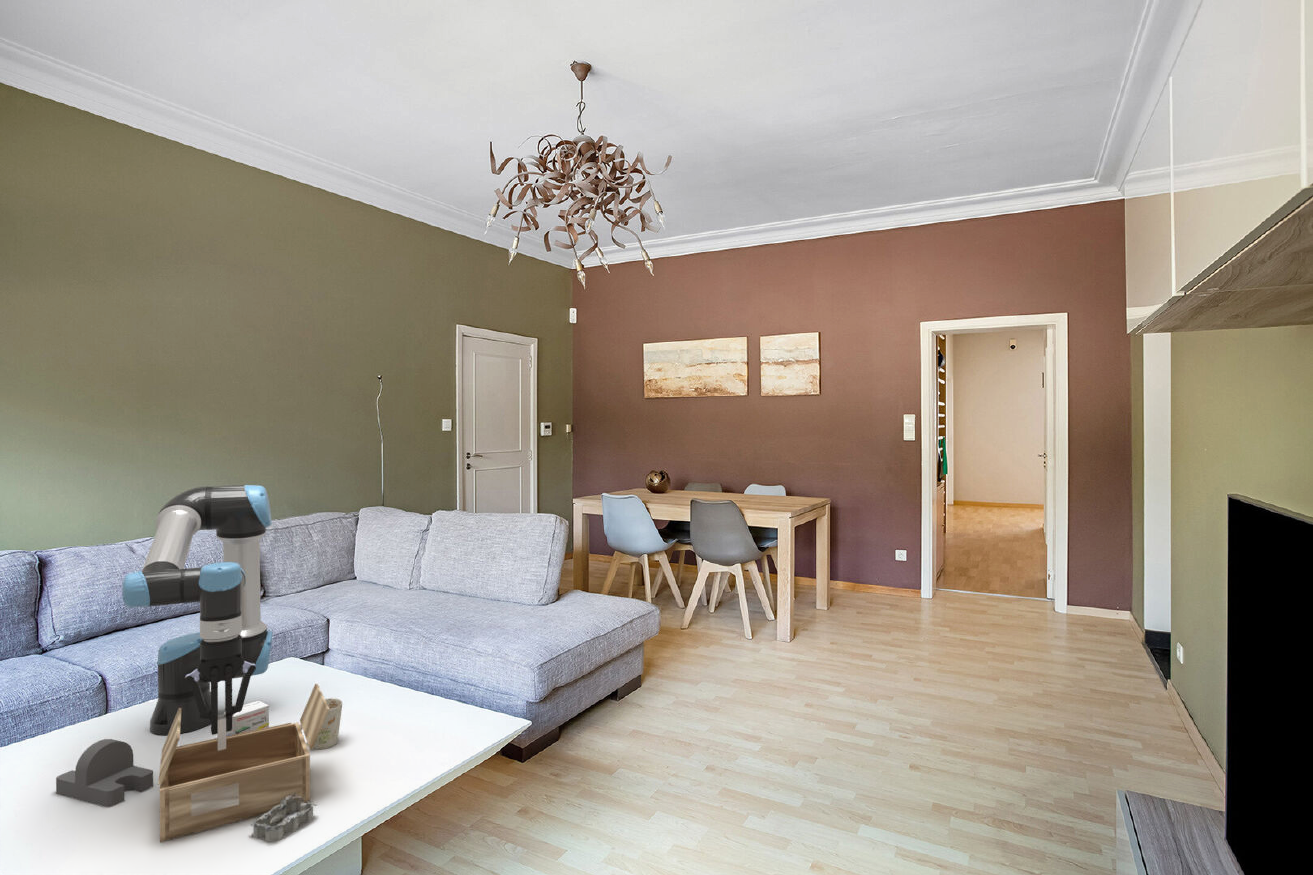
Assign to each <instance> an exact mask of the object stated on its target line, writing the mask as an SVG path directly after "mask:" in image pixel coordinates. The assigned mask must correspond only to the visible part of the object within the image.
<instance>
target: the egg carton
mask: <svg viewBox="0 0 1313 875" xmlns="http://www.w3.org/2000/svg"><path fill="white" fill-rule="evenodd" d="M316 806H317V804H316V803H315V802H311V801H310V802H309V801H307V803H304V801H303V799H302V797H300V796H297V795H296V794H295V792H294V793H293V794H292V795H291V794H290V795H288V796H287V797H285V798H284V799H283V800H281V803H280V804H279V805H277V806H274V807H273V809H272V810H270V811H269V812H267V813H265V814H263V815H260V817H259V816H258V819H256V820H254V821H252V822H249V825H251V827H253V836H252V837H253V838H255V839H259V838H260V837H265V838H264V840H265V842H267V843H270V842H272V841H279V840H281V839H283V838H284V834H285V833H287V832H291V831H292V832H295V831H296V830H298V829H299V824H302V823H306V822H307V823H310V822H311V821H312V820H313V819H314V818H313V816H314V807H316ZM296 812H297V813H296ZM291 813H296V816H291V817H290V818H289V817H288V818H287V815H288V814H291Z"/></svg>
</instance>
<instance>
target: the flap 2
mask: <svg viewBox="0 0 1313 875" xmlns="http://www.w3.org/2000/svg"><path fill="white" fill-rule="evenodd" d="M325 699H326V698H325V696H324V694H323V692H322V690H321V688H320V686H319V683H315V684H314V686H313V688H312V690H311V693H310V695H309V698H308V700H307V702H306V705H305V707H304V709H303V712H302V714H301V716H300V718H299V724H301V726H302V732H303V733H304V736H305V741H306V742H307V743H308V746H307V747H308V750H310V751H313V749H314V748H313V747H314V745H315V742H316V740H317V738H318V735H319V733H320V730H321V728H322V726H323V723H324V721H325V718H326V716H327V714H328V711H329V707H328V705H327V703H326V700H325Z"/></svg>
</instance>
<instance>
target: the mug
mask: <svg viewBox="0 0 1313 875" xmlns="http://www.w3.org/2000/svg"><path fill="white" fill-rule="evenodd" d="M325 700H326V703H327V705H328V707H329V711H328V714H327V716H326V718H325V721H324V723H323V726H322V728H321V730H320V733H319V735H318V738H317V740H316V742H315V745H314V747H313V749H314V750H325V749H329V748H331V747H333V746H335V745H336V744H337V743H338V741H339V735H340V734H339V733H340V726H341V719H342V718H341V717H342V711H343V701H342V700H341V699H339V698H325ZM299 725H300V728H301V731H302V732H303V729H302V726H301V723H299ZM305 742H306V745H307V747H309V746H308V743H307V741H305Z"/></svg>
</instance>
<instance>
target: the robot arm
mask: <svg viewBox="0 0 1313 875" xmlns="http://www.w3.org/2000/svg"><path fill="white" fill-rule="evenodd" d="M270 506H271V505H270V499H269V496H268V492H267V490H266V487H264V486H263V485H256V484H255V485H250V484H249V485H248V484H239V485H238V484H236V485H235V484H233V485H219V486H217V485H215V486H214V485H213V486H208V485H207V486H198V487H193V488H190V489H187V490H185V491H183V492H181V493H179V494H178V495H175V496H174V497H172V498H171V499H170V500H168V502H166V503H165V504H164V505H163V506H162V508H161V509H160V510H159V512H158V514H157V517H156V519H155V527H156V529H157V530H156V533H155V535H154V539H153V540H152V543H151V546H150V548H149V551H148V553H147V556H146V558H145V561H144V563H143V567H142V569H141V571H140V570H138V571H136V572H130V573H128V574H126V575H125V576H124V577H123V578H124V579H123V582H122V602H123V605H124V606H125V607H127V608H129V609H132V608H146V609H147V608H150V607H159V606H168V605H179V604H190V603H199V608H200V609H199V610H200V611H199V632H198V631H197V632H192V633H188V634H184V635H181V636H177V637H174V638H171V639H170V640H167V641H165V642H164V643H163V644H161V645H160V646H159V648H158V652H157V662H156V665H157V702H156V704H155V708H154V711H153V713H152V716H151V718H150V721H149V722H150V723H149V731H150V733H152V734H155V735H161V736H163V735H164V736H168V734H169V731H170V729H171V726H172V724H173V721H174V719H175V716H176V714H177V711H178V709H179V708H182V709H181V725H180V734H185V733H188V732H189V733H190V732H193V731H196V730H200V729H202V728H205V727H207V726H210V733H211V735H212V736H215V735H217V737H216V738H217V744H218V751H219V750H224V749H226V732H228V731H231V730H232V716H233V715H234V714H235V713H237V712H240V711H242V708H243V705H245V699H246V695H247V691H248V687H249V684H250V681H251V677H252V676H258V675H263V674H264V673H266V671H267V670H268V669H269V665H270V664H269V663H270V655H271V650H272V649H271V648H272V641H273V631H272V630H268V626H267V624H266V623H265V622H263V621H262V620H261V619H262V618H261V615H262V614H261V566H260V565H261V559H260V558H261V557H260V556H261V555H260V554H261V553H260V552H261V551H260V540H261V538H262V537H263V536H265V534H266V532H267V528H270V527H271V526H272V514H271V507H270ZM209 530H211V531H212V530H213V531H215V532H216V538H218V539H219V541H222V545H223V546H222V547H223V548H222V549H223V550H222V551H223V553H222V554H223V556H222V557H223V558H222V559H223V562H216V563H210V564H207V565H204V566H202V567H189V568H184V567H185V565H186V561H187V558H188V554H189V551H190V547H191V544H192V541H193V537H194V535H195V534H197V532H199V531H209ZM240 678H241V681H240V685H239V690H238V694H237V697H236V702H235V704H234V705H233V679H240ZM219 682H224V699H225V700H224V706H225V707H224V708H225V709H224V712H225V714H224V713H223V714H219V697H218V696H219Z"/></svg>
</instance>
